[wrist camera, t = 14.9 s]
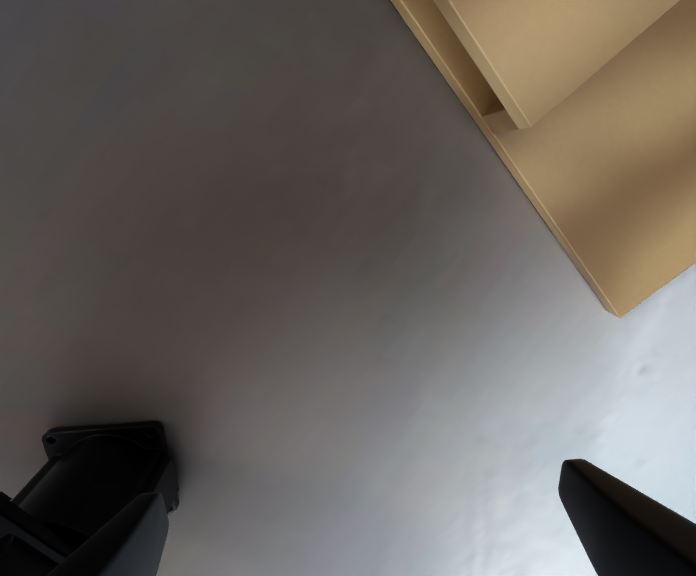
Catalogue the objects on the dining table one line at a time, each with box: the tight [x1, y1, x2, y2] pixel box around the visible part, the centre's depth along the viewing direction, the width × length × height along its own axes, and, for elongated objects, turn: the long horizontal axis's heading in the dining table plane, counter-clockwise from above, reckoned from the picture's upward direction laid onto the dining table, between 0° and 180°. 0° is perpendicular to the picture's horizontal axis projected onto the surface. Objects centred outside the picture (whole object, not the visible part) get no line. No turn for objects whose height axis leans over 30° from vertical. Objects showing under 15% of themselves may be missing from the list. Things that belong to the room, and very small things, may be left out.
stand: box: [390, 0, 696, 318], centre depth 16 cm, size 24×10×4 cm, turn 41°
